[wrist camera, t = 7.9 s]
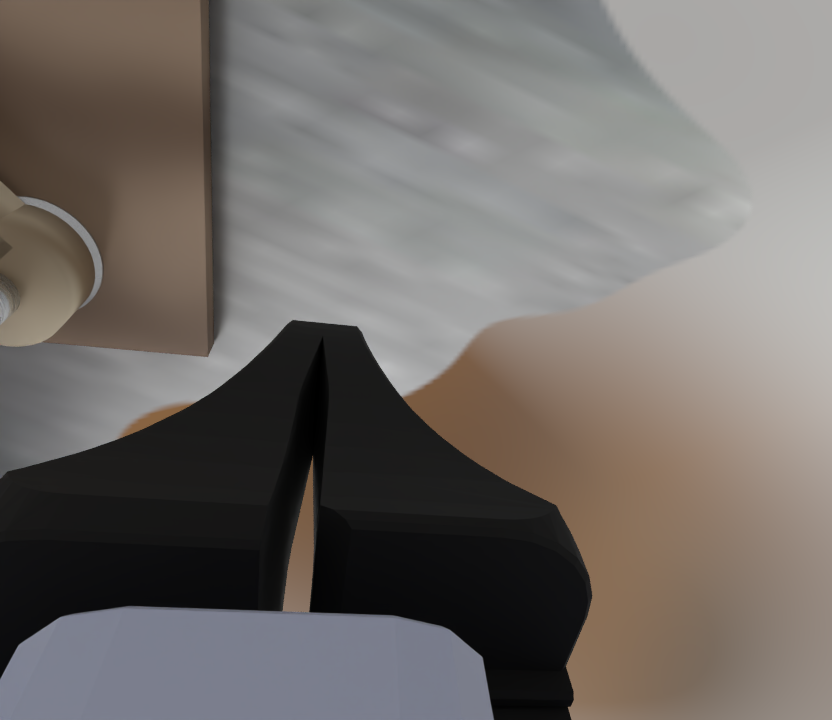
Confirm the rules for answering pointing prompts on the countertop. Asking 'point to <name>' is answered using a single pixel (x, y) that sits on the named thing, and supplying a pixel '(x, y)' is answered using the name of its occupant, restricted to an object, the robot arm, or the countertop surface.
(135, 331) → the wooden cutting board
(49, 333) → the link
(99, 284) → the keeper
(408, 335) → the countertop surface
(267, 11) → the countertop surface
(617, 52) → the countertop surface
